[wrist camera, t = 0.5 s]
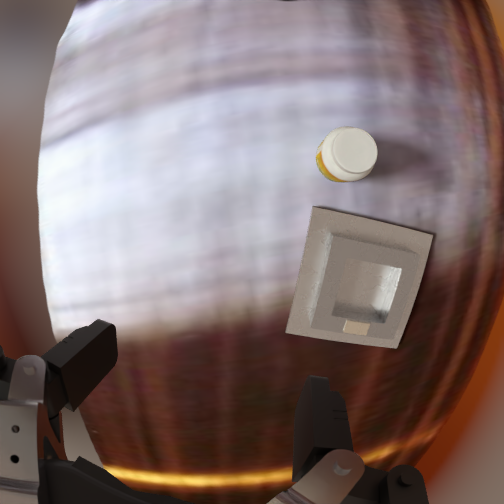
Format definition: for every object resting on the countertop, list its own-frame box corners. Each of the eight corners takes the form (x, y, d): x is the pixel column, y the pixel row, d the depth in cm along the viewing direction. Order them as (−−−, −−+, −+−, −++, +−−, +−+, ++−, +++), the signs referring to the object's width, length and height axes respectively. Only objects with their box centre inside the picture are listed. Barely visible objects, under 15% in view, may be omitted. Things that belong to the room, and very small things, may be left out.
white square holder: (312, 206, 33) (315, 208, 29) (429, 234, 31) (443, 239, 28) (285, 329, 36) (285, 343, 33) (394, 344, 35) (402, 358, 31)
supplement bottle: (321, 132, 31) (333, 111, 21) (363, 146, 30) (390, 131, 21) (310, 175, 32) (318, 169, 23) (353, 188, 31) (377, 188, 22)
